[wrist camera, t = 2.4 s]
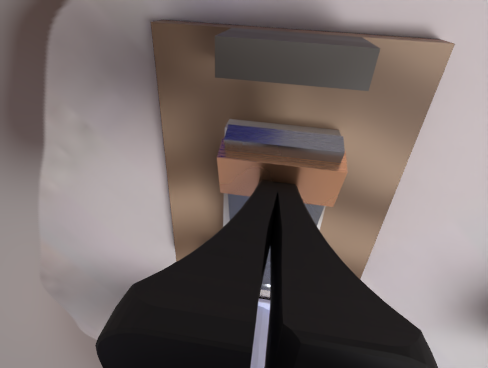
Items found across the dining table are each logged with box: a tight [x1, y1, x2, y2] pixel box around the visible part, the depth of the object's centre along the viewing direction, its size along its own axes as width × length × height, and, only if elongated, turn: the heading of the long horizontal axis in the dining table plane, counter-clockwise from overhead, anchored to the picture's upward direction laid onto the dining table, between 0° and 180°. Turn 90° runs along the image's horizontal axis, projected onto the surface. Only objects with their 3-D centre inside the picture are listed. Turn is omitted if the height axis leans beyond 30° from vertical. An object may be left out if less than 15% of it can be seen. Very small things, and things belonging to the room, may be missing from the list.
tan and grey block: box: [217, 124, 348, 291], centre depth 15 cm, size 14×4×1 cm, turn 178°
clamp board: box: [151, 20, 455, 279], centre depth 17 cm, size 17×14×5 cm
